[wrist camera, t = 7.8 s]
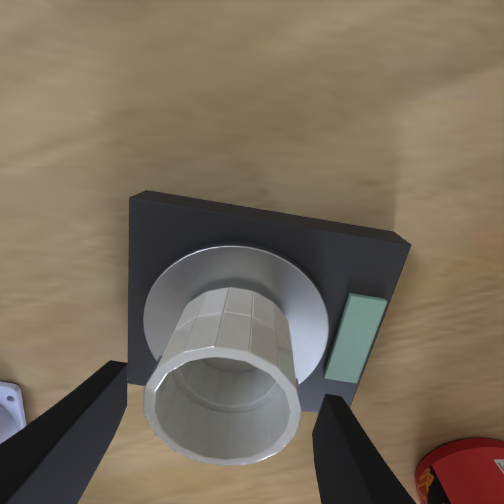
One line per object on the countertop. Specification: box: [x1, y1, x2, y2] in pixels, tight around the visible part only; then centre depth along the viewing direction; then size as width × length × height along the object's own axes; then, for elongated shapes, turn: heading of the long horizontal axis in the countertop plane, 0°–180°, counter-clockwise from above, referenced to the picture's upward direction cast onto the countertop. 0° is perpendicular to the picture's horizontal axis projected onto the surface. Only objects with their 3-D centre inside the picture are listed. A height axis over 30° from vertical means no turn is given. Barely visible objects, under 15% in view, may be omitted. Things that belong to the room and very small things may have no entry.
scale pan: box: [143, 242, 329, 384], centre depth 15 cm, size 9×9×1 cm
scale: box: [127, 190, 411, 413], centre depth 16 cm, size 11×13×2 cm
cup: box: [143, 287, 302, 466], centre depth 12 cm, size 5×5×4 cm
